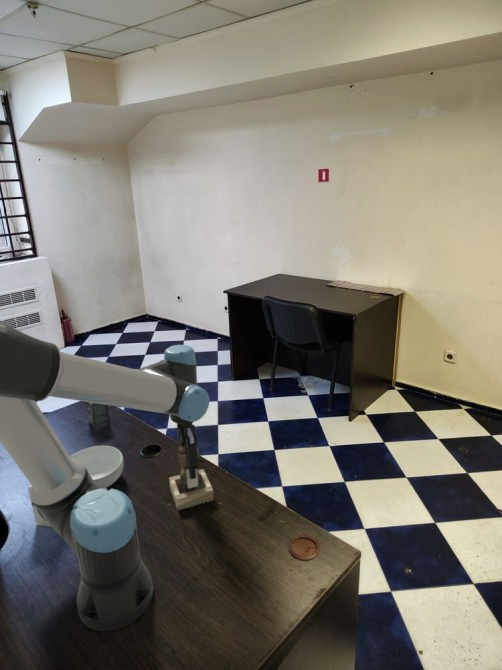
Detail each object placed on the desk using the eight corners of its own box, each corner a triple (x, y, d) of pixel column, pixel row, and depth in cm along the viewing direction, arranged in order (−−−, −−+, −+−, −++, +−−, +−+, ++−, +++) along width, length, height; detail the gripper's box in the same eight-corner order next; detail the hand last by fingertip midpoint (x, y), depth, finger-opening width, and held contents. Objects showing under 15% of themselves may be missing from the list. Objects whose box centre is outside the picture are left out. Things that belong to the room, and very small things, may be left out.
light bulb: (205, 491, 124) (202, 443, 120) (193, 502, 120) (189, 452, 115) (190, 485, 127) (185, 438, 123) (177, 495, 122) (172, 447, 118)
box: (88, 421, 163) (84, 395, 160) (103, 416, 166) (100, 391, 163) (95, 430, 157) (90, 403, 154) (111, 425, 160) (107, 399, 157)
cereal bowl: (56, 481, 131) (52, 460, 129) (110, 458, 141) (107, 439, 139) (78, 510, 119) (74, 488, 116) (135, 483, 129) (133, 462, 127)
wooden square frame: (213, 500, 121) (213, 489, 120) (177, 510, 118) (176, 499, 117) (204, 479, 130) (203, 468, 129) (169, 487, 127) (168, 477, 126)
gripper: (207, 417, 108) (212, 497, 115) (189, 387, 124) (195, 458, 132) (177, 424, 105) (184, 504, 113) (162, 392, 122) (169, 464, 129)
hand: (190, 479), depth 122 cm, fingers open, 5 cm apart
